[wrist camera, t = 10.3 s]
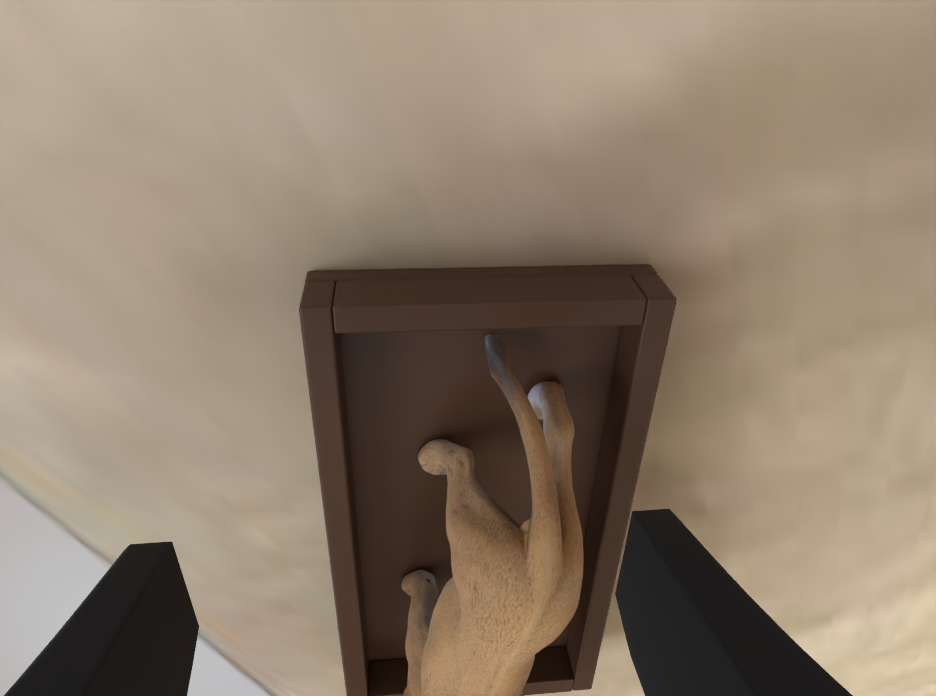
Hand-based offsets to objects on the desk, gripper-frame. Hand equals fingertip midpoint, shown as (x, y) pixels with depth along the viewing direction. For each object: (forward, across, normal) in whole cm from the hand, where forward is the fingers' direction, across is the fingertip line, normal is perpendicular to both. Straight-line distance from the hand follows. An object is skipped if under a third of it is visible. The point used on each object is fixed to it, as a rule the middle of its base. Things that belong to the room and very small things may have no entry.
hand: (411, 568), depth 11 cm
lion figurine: (+9, -2, +8) cm, 13 cm away
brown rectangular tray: (+9, -2, +8) cm, 13 cm away
